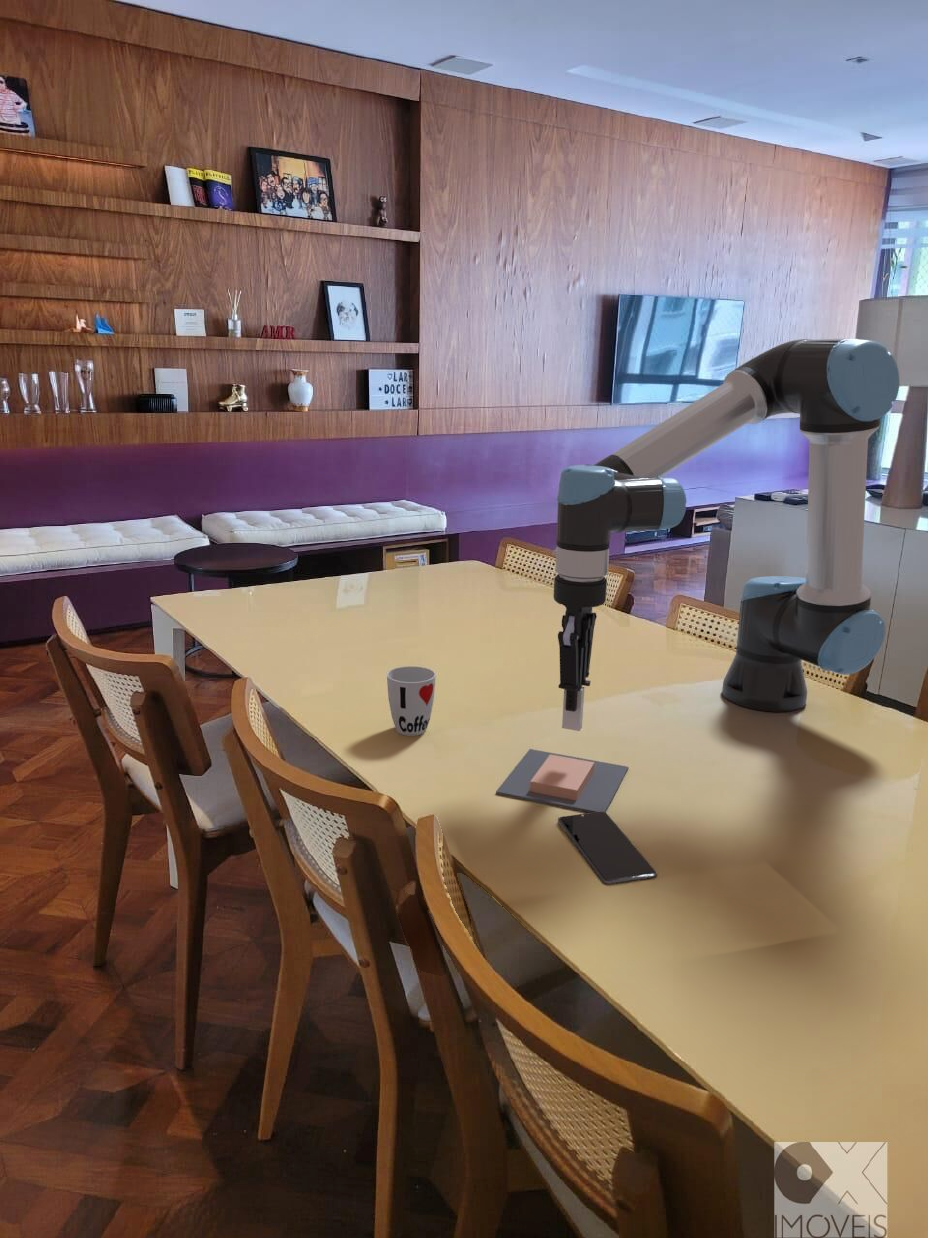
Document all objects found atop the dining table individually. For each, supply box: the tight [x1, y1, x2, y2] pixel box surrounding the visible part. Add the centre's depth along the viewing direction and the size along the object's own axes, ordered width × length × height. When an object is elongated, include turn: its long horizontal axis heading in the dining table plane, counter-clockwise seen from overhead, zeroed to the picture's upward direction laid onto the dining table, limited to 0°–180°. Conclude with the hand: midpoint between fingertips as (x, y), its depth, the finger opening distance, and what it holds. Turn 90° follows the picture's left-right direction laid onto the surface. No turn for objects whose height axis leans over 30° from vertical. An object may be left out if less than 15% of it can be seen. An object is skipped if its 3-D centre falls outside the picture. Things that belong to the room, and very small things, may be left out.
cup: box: [386, 665, 437, 737], centre depth 152 cm, size 8×8×10 cm
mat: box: [495, 748, 630, 813], centre depth 136 cm, size 16×16×1 cm
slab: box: [530, 754, 594, 801], centre depth 135 cm, size 7×2×10 cm
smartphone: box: [557, 812, 658, 886], centre depth 118 cm, size 7×1×16 cm
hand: (572, 727), depth 137 cm, fingers closed
